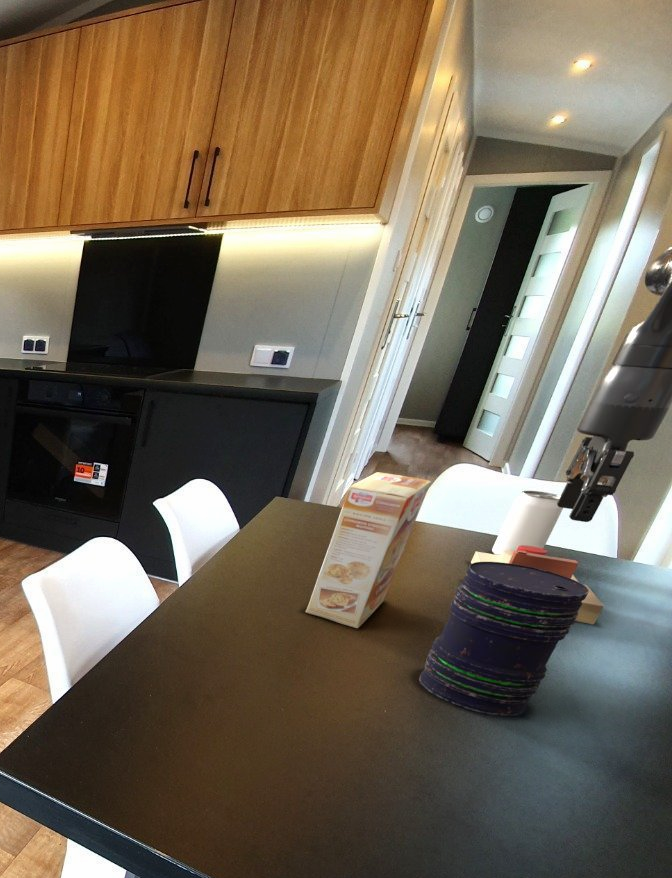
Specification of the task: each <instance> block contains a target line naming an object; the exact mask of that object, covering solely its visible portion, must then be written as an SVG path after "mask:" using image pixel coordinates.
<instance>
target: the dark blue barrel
mask: <svg viewBox="0 0 672 878" xmlns="http://www.w3.org/2000/svg"><path fill="white" fill-rule="evenodd" d="M466 574H467V575H466ZM466 574H465V576H464V577H463V578H462V581H461V583H460V584H459V585H458V587H457V589H456V592H455V595H454V598H453V600H452V601H451V603H450V608H449V610H450V614H449V616H448V619H447V621H446V623H445V625H444V628H443V629H442V632H441V634H440V635H438V636H437V637H436V638H435V640H434V641H433V642H432V646H431V648H430V650H429V651H428V654H427V656H426V659H425V660H426V662H425V664H424V666H423V668H424V669H423V670H422V671H421V672H420V675H419V677H418V680H419V683H420V685H422V686H423V687H424V689H426V690H427V691H428V692H430V693H431V694H433V695H435V696H436V697H438V698H440V699H442V700H444V701H446V702H448V703H450V704H453V705H456V706H458V707H461V708H464V709H467V710H470V711H473V712H478V713H483V714H487V715H493V716H499V717H500V716H501V717H504V716H505V717H512V716H518V715H521V714H524V712H525V710H526V708H527V702H529V701H530V700H531V699H532V697H533V695H535V694H536V693H537V691H538V689H539V687H540V685H541V684H542V683H541V682H542V680H543V679H545V678H546V673H547V671H548V669H547V666H546V665H547V663H549V660H550V658H551V657H552V654H553V653H554V651H555V649H556V647H557V645H558V643H559V642H560V641H562V640H564V639H565V637H566V636H567V635H568V634H569V633H570V628H571V626H573V625H574V624H575V622H576V621H575V620H576V618H577V616H578V611H579V609H580V607H581V605H582V602H581V601H582V600H584V599H585V598H586V596H587V594H588V593H589V589H588V588H587V587H586V586H584V585H585V584H584V585H583V583H581V582H580V581H578V580H577V581H578V582H577V581H575V580H573V579H570V578H568V577H565V576H562V575H559V574H556V573H552V572H549V571H545V570H541V569H537V568H532V567H527V566H522V565H516V564H510V563H501V562H475V563H472V564H471V563H470V564H469V566H468V568H467V570H466Z"/></svg>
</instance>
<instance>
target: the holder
mask: <svg viewBox="0 0 672 878" xmlns="http://www.w3.org/2000/svg"><path fill="white" fill-rule="evenodd" d="M509 563H510V564H516V565H522V566H527V567H532V568H537V569H541V570H545V571H549V572H552V573H556V574H559V575H562V576H565V577H568V578H570V579H571V577H572V575H574V573H575V571H576V569H577V568H578V566H579V562H578V561H577V560H575V559H569V558H563V557H556V556H549V555H546V556H545V555H539V554H533V553H527V552H526V551H523V550H517V551H514V553H513V555H512V557H511V559H510V561H509Z"/></svg>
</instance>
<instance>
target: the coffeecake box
mask: <svg viewBox="0 0 672 878" xmlns="http://www.w3.org/2000/svg"><path fill="white" fill-rule="evenodd" d="M432 482H433V481H432V480H429V479H424V478H420V477H419V478H418V477H412V476H406V475H401V474H400V475H399V474H394V473H393V474H392V473H386V472H380V471H376V472H375V473H372V474H371V475H369V476H367V477H365V478H364V479H361V480H360V481H358V482H356V483H354V484H352V485H350V486H348V490H347V493H346V496H345V499H344V502H343V505H342V507H341V510H340V513H339V516H338V519H337V521H336V525H335V527H334V530H333V533H332V537H331V539H330V542H329V546H328V547H327V551H326V554H325V556H324V559H323V561H322V565H321V568H320V570H319V572H318V575H317V579H316V582H315V585H314V588H313V591H312V593H311V596H310V599H309V603H308V605H307V607H306V610H305V613H306V614H309V615H313V616H317V617H319V618H322V619H326V620H329V621H333V622H336V623H339V624H341V625H345V626H347V627H352V628H355V629H359V628H360V627H361V626H362V625H363V624H364V623H365V622H366V621H367V620H368V619H369V617H371V615H372V614H373V613H374V612H375V611H376V610H377V609H378V608H379V607H380V605H382V603H383V602H384V601H385V598H386V595H387V593H388V590H389V589H390V588H389V587H390V585H391V583H392V580H393V578H394V575H395V572H396V570H397V568H398V565H399V563H400V560H401V557H402V556H403V553H404V550H405V548H406V545H407V543H408V540H409V537H410V535H411V533H412V530H413V529H414V525H415V523H416V521H417V519H418V516H419V513H420V510H421V508H422V505H423V503H424V501H425V498H426V496H427V493H428V491H429V488H430V486H431V484H432Z"/></svg>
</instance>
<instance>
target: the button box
mask: <svg viewBox="0 0 672 878" xmlns="http://www.w3.org/2000/svg"><path fill="white" fill-rule="evenodd" d="M514 551H516V550H505V551H503V552H502V554H501V556H500V555H495V554H494V553H487V552H482V551H475V552H474V555H473V557H472V559H471V561H470V564H472V563H475V562H501V563H509V561H510V559H511V557H512V555H513V553H514ZM571 579H573V580H575V581H577V582H579V581H578V579H577V578H576V577H575V575H574V574H573V575H572V577H571Z"/></svg>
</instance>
